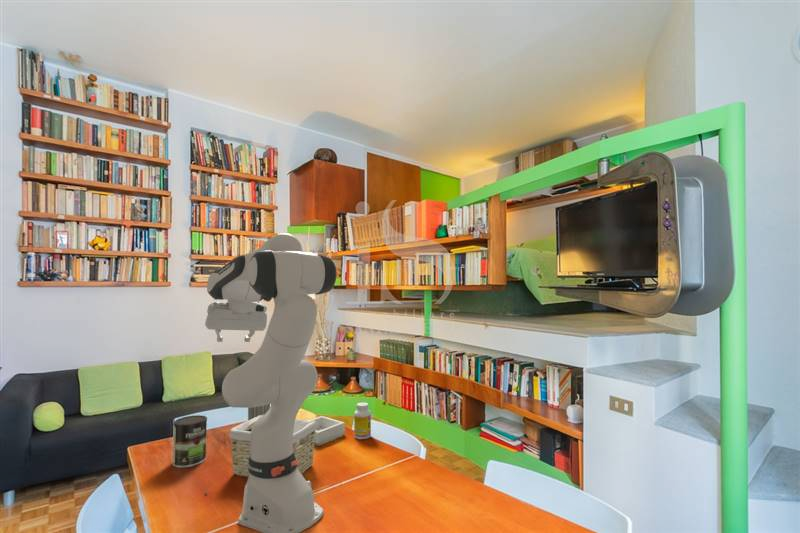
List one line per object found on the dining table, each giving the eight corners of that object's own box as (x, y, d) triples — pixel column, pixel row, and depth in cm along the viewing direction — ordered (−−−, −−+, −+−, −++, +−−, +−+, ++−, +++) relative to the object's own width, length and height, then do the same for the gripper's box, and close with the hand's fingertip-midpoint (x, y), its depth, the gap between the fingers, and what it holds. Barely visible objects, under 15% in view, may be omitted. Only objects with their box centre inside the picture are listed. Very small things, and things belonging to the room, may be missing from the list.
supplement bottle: (369, 440, 153) (369, 406, 154) (353, 440, 153) (353, 406, 154) (371, 433, 160) (371, 401, 160) (355, 433, 160) (355, 401, 160)
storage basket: (226, 475, 125) (226, 428, 126) (260, 455, 140) (260, 413, 141) (290, 487, 117) (290, 437, 118) (318, 464, 132) (318, 420, 133)
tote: (344, 435, 158) (344, 422, 159) (317, 446, 147) (317, 432, 147) (321, 427, 167) (321, 415, 167) (294, 437, 156) (294, 425, 156)
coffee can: (211, 459, 136) (212, 418, 137) (180, 470, 128) (181, 427, 129) (197, 452, 143) (198, 413, 143) (167, 462, 134) (168, 420, 135)
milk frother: (262, 440, 153) (262, 402, 154) (227, 437, 157) (228, 400, 158) (281, 428, 167) (281, 392, 168) (249, 425, 171) (249, 390, 172)
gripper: (211, 304, 129) (203, 344, 130) (271, 308, 142) (264, 344, 143) (207, 299, 134) (199, 338, 135) (265, 303, 147) (258, 338, 148)
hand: (233, 341), depth 139 cm, fingers open, 8 cm apart
